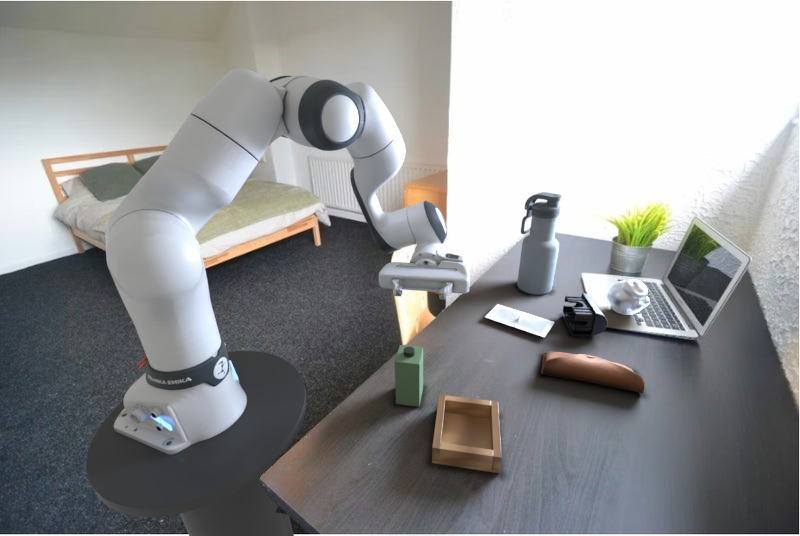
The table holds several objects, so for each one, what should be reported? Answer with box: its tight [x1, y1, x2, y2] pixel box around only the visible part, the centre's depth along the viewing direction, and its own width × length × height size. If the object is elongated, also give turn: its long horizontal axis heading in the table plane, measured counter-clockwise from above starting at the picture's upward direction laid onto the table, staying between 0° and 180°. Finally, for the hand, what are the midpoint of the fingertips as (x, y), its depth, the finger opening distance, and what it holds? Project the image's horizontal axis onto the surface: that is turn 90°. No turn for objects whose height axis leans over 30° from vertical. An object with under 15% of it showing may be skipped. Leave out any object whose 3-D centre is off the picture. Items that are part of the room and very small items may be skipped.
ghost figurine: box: [606, 278, 651, 316], centre depth 95 cm, size 9×10×10 cm
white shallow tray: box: [484, 303, 556, 338], centre depth 93 cm, size 8×15×2 cm, turn 53°
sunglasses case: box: [540, 351, 645, 395], centre depth 76 cm, size 18×7×7 cm
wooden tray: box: [431, 393, 503, 474], centre depth 62 cm, size 10×11×4 cm
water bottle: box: [516, 191, 562, 296], centre depth 104 cm, size 10×10×28 cm
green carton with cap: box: [394, 344, 424, 408], centre depth 70 cm, size 4×5×11 cm
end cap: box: [562, 292, 609, 338], centre depth 90 cm, size 10×7×7 cm
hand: (419, 294), depth 77 cm, fingers open, 8 cm apart
